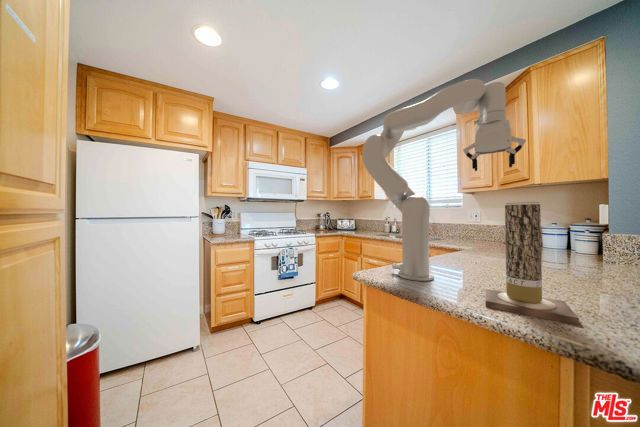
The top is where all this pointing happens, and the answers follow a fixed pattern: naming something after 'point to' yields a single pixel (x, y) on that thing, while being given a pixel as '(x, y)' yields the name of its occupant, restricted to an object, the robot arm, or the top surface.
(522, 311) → the walnut board
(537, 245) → the brown cylinder
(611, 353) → the top surface
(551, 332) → the top surface
